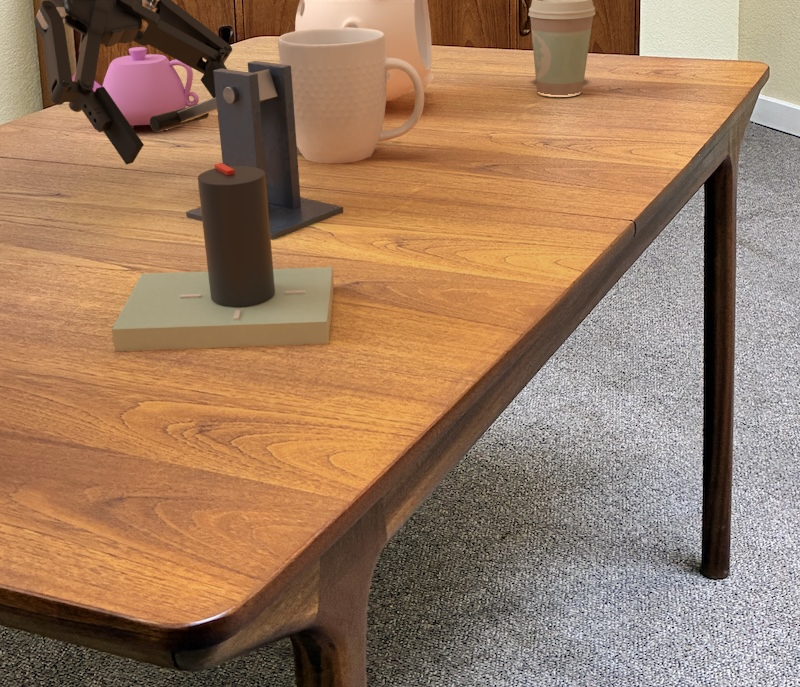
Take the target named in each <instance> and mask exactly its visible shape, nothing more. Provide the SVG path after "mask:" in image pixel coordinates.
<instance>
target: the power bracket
mask: <svg viewBox="0 0 800 687" xmlns="http://www.w3.org/2000/svg"><path fill="white" fill-rule="evenodd" d="M267 69H269V71H270V74H271V77H272V80H273V83H274V86H275V89H276V92H277V95H278V96H277V97H275V98H272V99H269V100H267V101H264V102H261V103H260V96H259V84H258V74H257V73H255V72H259V71H263V70H267ZM213 72H214V82H215V92H216V102H217V110H216V111H217V120H218V130H219V141H220V150H221V160H222V161H221V163H223V164H225V165H227V166H228V167H229V166H249V167H255V168H259V169H261V170H263V171H264V172H265V179H266V191H267V203H268V214H269V226H270V238H271V241H274V240H277V239H279V238H282V237H284V236H287V235H289V234H291V233H292V234H293V233H294V232H297V231H300V230H302V229H305V228H307V227H310V226H313V225H315V224H318V223H320V222H322V221H326V220H327V219H331V218H332V217H335V216H338V215H341V214H343V213H344V207H343V206H340V205H336V204H333V203H332V204H331V203H327V202H324V201H319V200H314V199H309V198H306V197H301V187H300V173H299V159H298V147H297V143H296V129H295V115H294V101H293V87H292V73H291V66H290V65H283V64H279V63H276V62H267V61H259V60H253V61H248V62H247V71H242V70H236V69H228V68H227V69H217V70H214V71H213ZM185 213H186V218H188V219H192V220H196V221H199V222H202V213H201V206H199V207H196V208H194V209H191V210H187V211H186V212H185Z"/></svg>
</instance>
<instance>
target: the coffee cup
mask: <svg viewBox="0 0 800 687" xmlns="http://www.w3.org/2000/svg"><path fill="white" fill-rule="evenodd" d="M595 15H596V6H594V1H593V0H531V4H530V7H529V8H528V13H527V16H528V17H529V18H530V29H531V39H532V40H531V41H532V52H533V62H534V74H535V84H536V92H537V91H538V92H540V93H544V94H551V95H568V94H575V93H579V92H581V91H582V92H583V89H584V88H583V87H584V82H585V75H586V68H587V61H588V54H589V48H590V41H591V36H592V35H591V34H592V26H593V20H594V16H595Z"/></svg>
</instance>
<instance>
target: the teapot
mask: <svg viewBox="0 0 800 687" xmlns="http://www.w3.org/2000/svg"><path fill="white" fill-rule="evenodd" d="M147 52H148V48H147V47H144V46H137V47H136V46H135V47H130V48H128V53H129V55H124V56H120V57H119V56H118V57H116V58H114V59H112V61H111V62H110V64H109V66H108V68H107V70H106V73H105V76H104V79H103V82H102V85H101V84H100V83H98V82H97V81H96V80H95V81H94V87H93V91H94V92H95V91H96V89H97V88H100V87H104V88H105V89H106V91H107V92H108V94H109V95H110V96H111V98H112V99H113V101H114V102H115V104H116V105H117V107H118V108H119V109H120V111H121V112H122V114H123V115H124V117H125V118H126V120H127V121H128V122H129V124H130V125H131V127H132V128H135V126H150V118H151V117H152V116H156V115H160V114H164V113H167V112H171V111H175V110H179V109H183V108H187V107H191V106H194V105H197V104H199V101H200V98H199V95H198V93H196V92H195V91H191V89H192V85H193V80H194V69H193V68H191V67H190V66H188V65H186V64H184V63H182V62H180V61H178V60H177V59H172V60H169V58H168V57H167V56H166V55H163V54H156V53H154V54H153V53H152V54H151V53H149V54H147ZM174 66H180V67H183V68H184V69H185V70H186V81H185V82H186V83H185V86H184V83H183V81H182V79H181V77H180V76H179V74H178V72H177V70H176V69H175V67H174ZM75 76H76V72H74V73H73V75H72V81H75ZM190 97H192V98H193V100H190Z"/></svg>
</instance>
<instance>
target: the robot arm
mask: <svg viewBox="0 0 800 687" xmlns="http://www.w3.org/2000/svg"><path fill="white" fill-rule="evenodd" d="M143 21H144V22H146V23H147V24H146V26H145V28H144V30H141V29H142V26H143ZM33 23H34V24H33V25H34V26H35V27H36V29H37V31H38V33H39V36H40V37H41V39H42V44H43V51H44V60H45V66H46V74H47V81H48V90H49V95H50V96H49V97H50V100H51V102H52V103H53V104H55V105H57V106H61V105H64V103H68V107H69V109H70V110H71V111H73V112H75V113H79V112H81V111H82V112H83V114H84V116H85V117H86V118H87V119H88V121H89V122H90V125H92V127H93V129H95V131H97V132H98V133H102V132H103V133H104V135H105V136H106V138H107V139H108V140H109V142H110V143H111V145H112V146H113V148H114V149H115V150H116V152H117V154H118V155H119V156H120V158H121V159H122V161H123V162H124V163H125V165H130V164H133V163H134V161H135V160H136V159H137V157H138V156H139V153H140V152H141V150H142V148H143V147H144V145H145V144H144V143H143V141H142V140H141V138H140V137H139V135H138V134H137V132H136V130H135V129H133V128H132V127H131V125H130V124H129V122H128V121H127V120H126V118H125V117H124V115H123V114H122V112H121V111H120V109H119V108H118V107H117V105H116V104H115V102H114V101H113V99H112V98H111V96H110V95H109V94H108V92H107V91H106V89H105V88H104V87H100V88H97V89H96V91H95V92H94V91H93V87H94V81H96V75H97V67H98V61H99V55H100V49H101V45H103V46H104V47H105V48H110V47H113V46H115V45H117V44H129V43H130V44H131V43H133V42H135V43H136V44H138V45H139V46H142V47H144V46H149V47H153V48H154V49H156V50H158V51H160V52H161V53H163V54H166V55H168V56H169V57H171V58H173V59H174V60H176V59H177V60H178V61H180V62H182V63H184V64H186V65H188V66H190V67H191V68H192V70H195V71H197V72H199V73H201V74H203V75H202V76H201V78H200V81H201V83H202V85H203V86H204V88H205V89H206V90H207V92H208V93H209V94H210V96H211V97H212V98H215V97H216V92H215V82H214V72H213V71H214V70H217V69H228V68H227V67H226V65H225V62H226V61H227V59H228V58H229V57H230V55H231V53H232V51H233V47H232V46H231V44H229V43H228V42H227V41H225V40H224V39H223V38H221V36H219V35H218V34H216V33H215V32H214V31H212V30H211V29H210V28H208V27H207V26H206V25H204V24H203V23H202V22H201V21H199V20H198V19H197V18H195V17H194V16H192V15H191V14H190V13H189V12H187V10H185V9H183V8H182V7H181V6H179V5H178V4H177V3H176V2H174V1H173V0H43V1H42V2H41V4H40V6H39V9H38V10H37V13H36V16H35V18H34V19H33ZM65 25H66V26H67V27H69V28H71V29H72V30H75V31H76V32H78V33H79V34H80V40H79V45H78V46H79V47H78V52H79V53H78V58H77V59H78V60H77V65H76V71H75V73H76V76H75V81H72V76H73V75H72V68H71V62H70V56H69V54H70V53H69V48H68V42H67V35H66V28H65Z"/></svg>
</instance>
